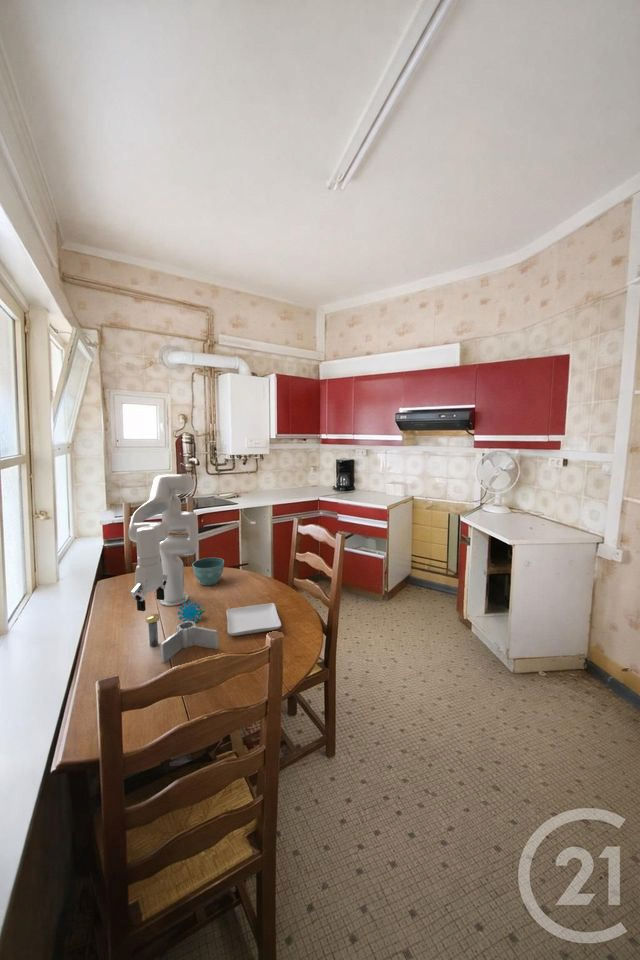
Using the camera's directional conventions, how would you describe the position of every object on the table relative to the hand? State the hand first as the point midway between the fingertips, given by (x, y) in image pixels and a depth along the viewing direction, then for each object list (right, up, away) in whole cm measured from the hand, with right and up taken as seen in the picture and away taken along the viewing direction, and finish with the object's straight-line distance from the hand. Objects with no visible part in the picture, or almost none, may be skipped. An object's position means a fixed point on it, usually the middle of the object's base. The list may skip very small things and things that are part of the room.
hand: (151, 604), depth 140 cm
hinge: (+15, -17, -2) cm, 23 cm away
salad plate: (+34, -14, +19) cm, 42 cm away
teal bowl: (+3, -9, +62) cm, 62 cm away
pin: (0, -16, +2) cm, 16 cm away
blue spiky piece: (+8, -14, +21) cm, 26 cm away
